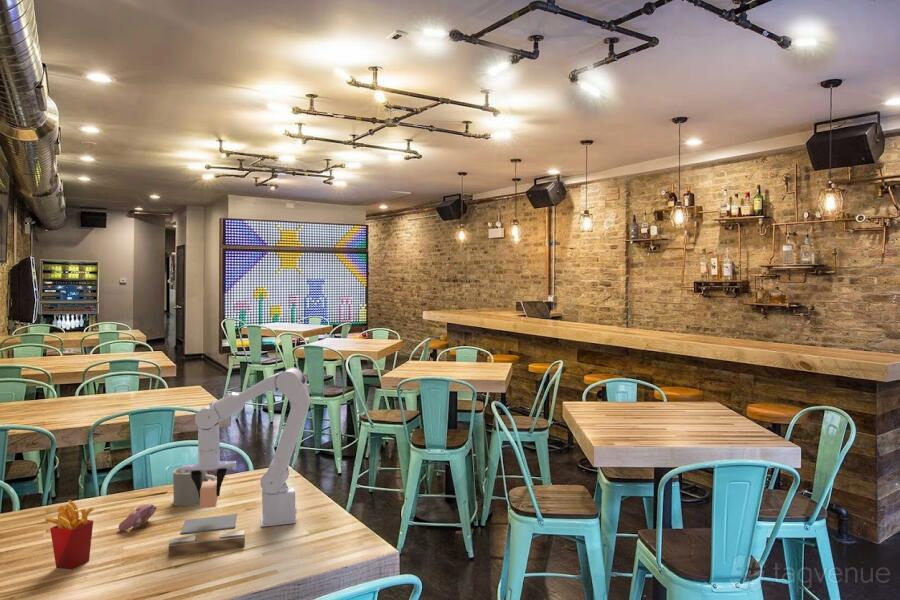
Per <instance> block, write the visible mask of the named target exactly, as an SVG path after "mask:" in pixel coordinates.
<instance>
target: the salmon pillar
mask: <svg viewBox="0 0 900 600" xmlns="http://www.w3.org/2000/svg"><path fill="white" fill-rule="evenodd" d="M218 498H219V496H217V481H212V480H208V481H206V482H203V483H202V486H201V489H200V504H199V509H207V508H208V509H209V508H216V506H217V503H218Z"/></svg>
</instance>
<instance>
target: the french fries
mask: <svg viewBox="0 0 900 600" xmlns="http://www.w3.org/2000/svg"><path fill="white" fill-rule="evenodd" d="M94 510H95V507H90V508H89V509H87V510H86V508H81V509H80V512H81V518H80V514H79V509H78V507H77V504H75V503H74V502H73V501H72V500H71V499H70V500H68V502H67V503H66V504H65V505H63V506H62V505H60V506H59V508H58V509H56V511H57V518H53V517H48V516H47V517H46V518H45V521H44V522H47V523H51V524H55V525H54V526H52V527H50V536H51V543H52V546H53V547H52V548H53V555H54V563H55V568H56V569H64V570H72V571H73V570H75V569H77V568H78V567H81V566H83V565H84V564H86V563H88V562H90V557H91V546H92V536H93V528H94V527H93V526H94V520H92V519H91V520H90V519H88V516H89V515H90V513H92V512H93V511H94Z"/></svg>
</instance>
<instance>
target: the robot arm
mask: <svg viewBox="0 0 900 600" xmlns="http://www.w3.org/2000/svg"><path fill="white" fill-rule="evenodd" d="M278 391H279V392H280V393H281V394H282V395H284V396H285V397H286V398H287V400H288V401H289V403H290V404H291V408H290V409H289V410H290V411H289V413H288V417H287V418H286V422H285V424H284V427H283V430H282V433H281V436H280V438H279V440H278V441H279V442H278V443H277V447H276V450H275V452H274V455H273V457H272V460H271V462H270V464H269V466H268V469H267V471H266V472H265V473H264V474H263V475H262V477H261V478H260V482H259V483H260V487H261V497H262V498H261V501H262V503H261V505H262V510H261V511H262V514H261V516H260V527H261V528H265V527H274V526H280V525H281V526H282V525H289V524H295V523H296V522H297V521H296V518H297V517H296V515H297V507H296V489H295V488H291V487H290V488H289V486H288V484H287V482H286V481H287V480H288V478H289V476H290V470H289V466H290V464H291V458H292V455H293V453H294V451H295V447H296V445H297V442H298V439H299V436H300V433H301V431H302V427H303V425H304V423H305V419H306V416H307V413H308V411H309V408H310V405H311V396H310V392H309V388H308V381H307V378H306V376H305V375H304V373H303V372H302V370H301V369H300V368H298V367H289V368H287V369H285V371H282V370H281V371H279V372H277V373H274V374H272V375H269V376H267V377H266V378H264V379H262V380H260V381H259V382H257V383H255V384H254V385H252V386H250V387H249V388H247V389H246V390H244V391H242V392H240V393H239V392H235V391H233V392H231V393H230V392H229V391H228V392H227V393H225V394H223V397H222V398H219V399H218V400H216V401H212V402H209V403H208V405H207V406H206V407H203V408H201V409H200V410H199V411H198V412H197V413H196V414H195V417H194V422H195V424H196V426H197V428H198V429H197V432H198V433H197V453H198V454H197V459H198V461H197V463H192V464H191V463H190V464H184V465H181V474H185V473H191V478H192V480H193V481H194V483H195V485H196V487H197V490H198V494H199V498H200V489H201V486H202V472H203V471H207V472H212V471H213V472H214V471H216V478H217V496H218V497H220V494H221V487H222V484H223V481H224V479H225V476H226V474H227V470H233V471H234V470H237V460H232V461H226V460H222V461H221V459H220V458H221V456H220V455H221V454H220V453H221V451H220V447H221V446H220V441H221V440H220V438H221V437H220V422H221V421H225V420H226V419H228V418H230V417H232V416H233V415H235V414H237V413H239V412H240V411H243V409H244V406H245V404H246V403H247V402H249V401H252V400H253V399H255V398H257V397H259V396H261V395H263V394H265V393H267V392H275V393H276V392H278Z"/></svg>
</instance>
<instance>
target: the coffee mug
mask: <svg viewBox="0 0 900 600" xmlns="http://www.w3.org/2000/svg"><path fill="white" fill-rule="evenodd" d="M181 467H182V466H181ZM181 467H177V468H176V469H174V470H173V474H172V475H173V476H172V477H173V479H172V480H173V485H172V486H173V489H172V490H173V505H174V506H176V507H194V506H198V505H200V498H199V494H198V490H197V487H196V485H195V483H194V481H193V480H192V478H191V473H185V474H181ZM209 480H210V481H217V476H215V475H214V474H208V471H203V472H202V483H203V482H206V481H209Z"/></svg>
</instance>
